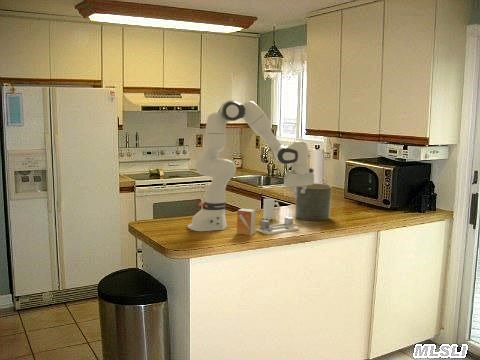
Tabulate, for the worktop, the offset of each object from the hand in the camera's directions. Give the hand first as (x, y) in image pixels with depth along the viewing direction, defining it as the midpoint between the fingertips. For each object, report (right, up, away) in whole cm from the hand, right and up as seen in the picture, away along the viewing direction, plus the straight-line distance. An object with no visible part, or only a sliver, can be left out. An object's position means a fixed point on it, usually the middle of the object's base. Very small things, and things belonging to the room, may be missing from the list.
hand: (298, 193), depth 287 cm
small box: (-30, -21, -16) cm, 40 cm away
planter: (+12, -16, +29) cm, 35 cm away
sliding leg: (-4, -18, -3) cm, 19 cm away
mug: (-14, -16, +21) cm, 30 cm away
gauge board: (-12, -20, -7) cm, 25 cm away
